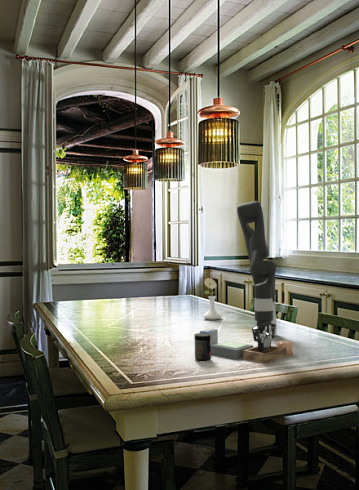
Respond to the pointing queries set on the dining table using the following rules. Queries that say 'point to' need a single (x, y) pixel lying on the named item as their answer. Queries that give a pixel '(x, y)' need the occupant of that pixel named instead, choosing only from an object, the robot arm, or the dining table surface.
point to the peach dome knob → (286, 346)
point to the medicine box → (212, 335)
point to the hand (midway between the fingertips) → (264, 350)
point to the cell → (266, 344)
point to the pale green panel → (231, 345)
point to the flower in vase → (211, 301)
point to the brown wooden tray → (264, 354)
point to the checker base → (229, 351)
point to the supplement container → (202, 346)
